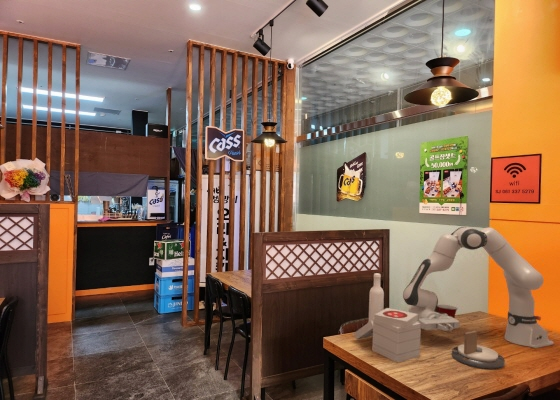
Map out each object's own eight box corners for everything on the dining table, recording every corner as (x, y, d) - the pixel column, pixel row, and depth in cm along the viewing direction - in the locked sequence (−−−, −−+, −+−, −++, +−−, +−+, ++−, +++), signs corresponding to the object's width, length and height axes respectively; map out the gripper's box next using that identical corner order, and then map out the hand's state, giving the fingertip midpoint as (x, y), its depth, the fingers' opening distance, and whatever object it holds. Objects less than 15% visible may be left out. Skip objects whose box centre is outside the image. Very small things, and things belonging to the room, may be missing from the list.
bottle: (366, 325, 213) (368, 272, 214) (380, 325, 214) (381, 272, 214) (371, 330, 205) (372, 275, 206) (385, 330, 206) (386, 275, 206)
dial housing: (479, 348, 184) (479, 344, 184) (516, 367, 163) (516, 362, 163) (441, 351, 179) (442, 346, 179) (474, 371, 158) (474, 366, 158)
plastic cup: (458, 326, 217) (459, 305, 217) (455, 331, 208) (456, 309, 208) (438, 322, 223) (438, 302, 223) (434, 327, 214) (435, 306, 214)
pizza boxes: (377, 336, 198) (378, 301, 198) (426, 357, 172) (427, 317, 172) (349, 342, 188) (350, 305, 188) (397, 365, 162) (398, 323, 162)
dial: (472, 345, 182) (473, 323, 182) (506, 358, 168) (506, 334, 168) (449, 350, 174) (450, 327, 174) (482, 364, 160) (482, 339, 160)
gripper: (413, 314, 194) (430, 323, 180) (448, 313, 198) (467, 321, 185) (413, 327, 194) (429, 336, 180) (448, 325, 198) (466, 334, 185)
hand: (449, 329), depth 183 cm, fingers closed
